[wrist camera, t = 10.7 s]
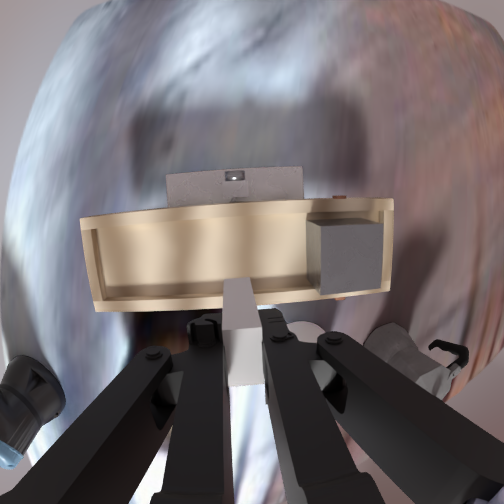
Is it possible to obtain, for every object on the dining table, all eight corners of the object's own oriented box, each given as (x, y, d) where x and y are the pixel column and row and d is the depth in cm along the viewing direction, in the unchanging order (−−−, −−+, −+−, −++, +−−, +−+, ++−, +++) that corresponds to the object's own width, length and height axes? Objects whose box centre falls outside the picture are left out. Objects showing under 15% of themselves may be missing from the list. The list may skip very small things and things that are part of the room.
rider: (306, 278, 30) (320, 295, 25) (305, 220, 28) (320, 226, 24) (359, 273, 30) (380, 288, 25) (360, 217, 29) (383, 223, 24)
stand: (180, 301, 41) (164, 337, 31) (167, 174, 38) (144, 170, 27) (303, 293, 42) (325, 325, 32) (300, 166, 38) (324, 159, 28)
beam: (107, 302, 31) (96, 314, 28) (93, 212, 29) (79, 215, 25) (375, 283, 33) (389, 293, 30) (378, 194, 31) (393, 195, 27)
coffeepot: (364, 381, 47) (406, 447, 29) (342, 351, 45) (388, 422, 27) (428, 331, 46) (487, 379, 28) (413, 295, 44) (481, 341, 26)
